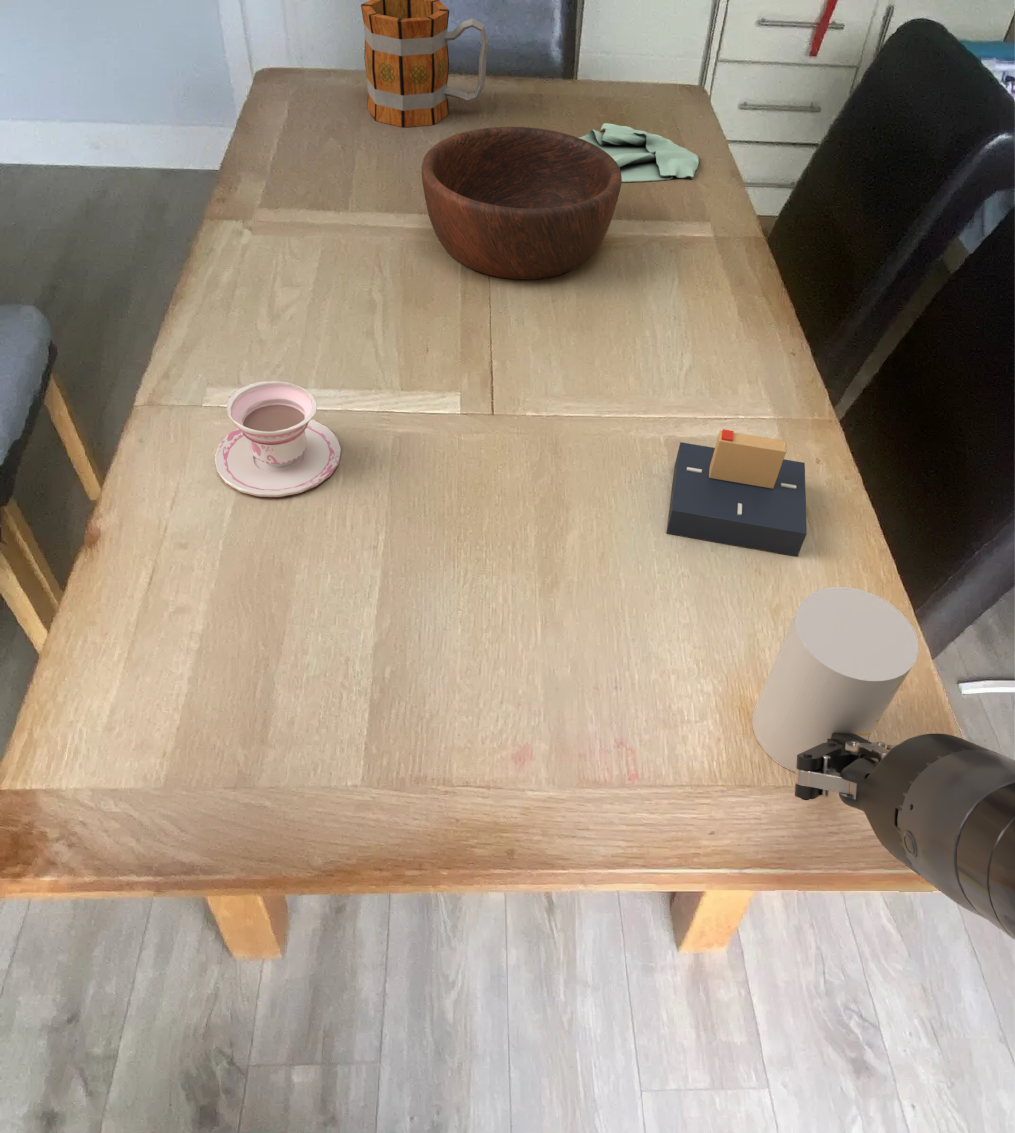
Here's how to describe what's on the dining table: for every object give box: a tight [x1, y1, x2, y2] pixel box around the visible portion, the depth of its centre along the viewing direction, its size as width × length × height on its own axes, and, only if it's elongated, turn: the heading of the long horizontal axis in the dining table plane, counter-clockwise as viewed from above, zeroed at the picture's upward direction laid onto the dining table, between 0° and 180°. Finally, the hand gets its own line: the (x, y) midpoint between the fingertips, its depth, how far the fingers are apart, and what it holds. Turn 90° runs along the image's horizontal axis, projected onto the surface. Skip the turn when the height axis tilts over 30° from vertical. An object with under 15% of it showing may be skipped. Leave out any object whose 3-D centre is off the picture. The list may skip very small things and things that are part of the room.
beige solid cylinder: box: [751, 586, 920, 774], centre depth 65 cm, size 8×8×12 cm
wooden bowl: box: [421, 126, 623, 280], centre depth 116 cm, size 25×25×10 cm
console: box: [665, 441, 808, 557], centre depth 85 cm, size 12×11×3 cm
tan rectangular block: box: [709, 428, 787, 489], centre depth 83 cm, size 6×2×5 cm, turn 78°
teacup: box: [214, 380, 342, 498], centre depth 86 cm, size 12×12×6 cm
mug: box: [360, 0, 490, 128], centre depth 143 cm, size 20×14×15 cm
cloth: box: [579, 122, 700, 183], centre depth 140 cm, size 20×22×2 cm
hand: (840, 747), depth 63 cm, fingers closed
